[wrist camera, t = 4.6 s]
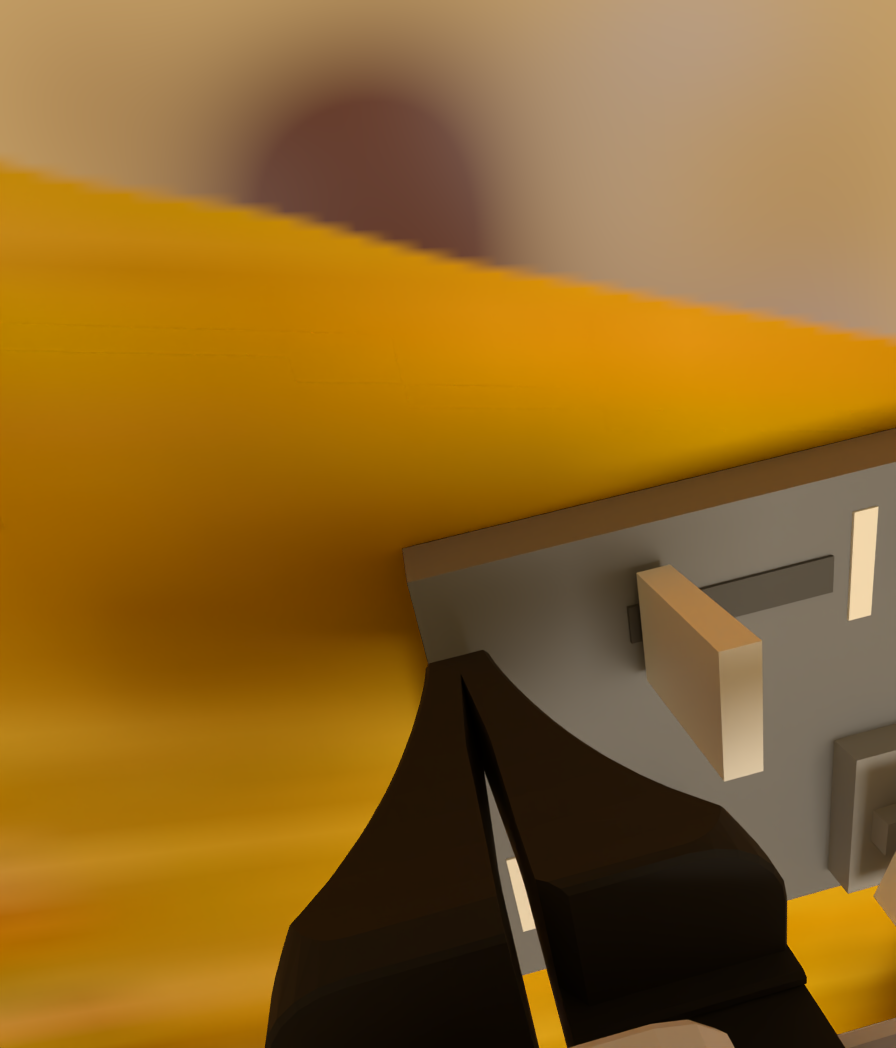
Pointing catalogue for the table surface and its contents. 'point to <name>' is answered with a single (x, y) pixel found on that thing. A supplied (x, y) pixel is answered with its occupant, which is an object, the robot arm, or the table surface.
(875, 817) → the switch panel
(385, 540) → the table surface
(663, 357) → the table surface
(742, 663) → the tan flat upright block
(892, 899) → the block
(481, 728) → the robot arm
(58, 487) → the table surface
